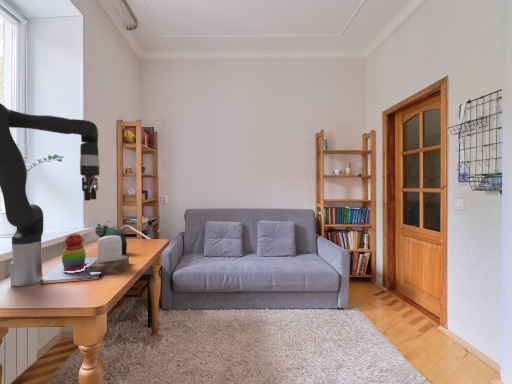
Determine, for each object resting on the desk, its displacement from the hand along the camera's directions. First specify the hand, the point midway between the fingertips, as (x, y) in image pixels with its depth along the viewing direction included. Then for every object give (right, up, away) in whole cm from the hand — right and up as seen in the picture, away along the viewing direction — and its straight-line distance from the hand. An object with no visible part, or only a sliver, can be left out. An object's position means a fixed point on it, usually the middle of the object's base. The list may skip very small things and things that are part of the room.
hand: (90, 200), depth 118 cm
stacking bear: (-10, -34, +4) cm, 36 cm away
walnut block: (+6, -34, +5) cm, 35 cm away
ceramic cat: (-9, -34, +34) cm, 48 cm away
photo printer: (+6, -30, +5) cm, 31 cm away
